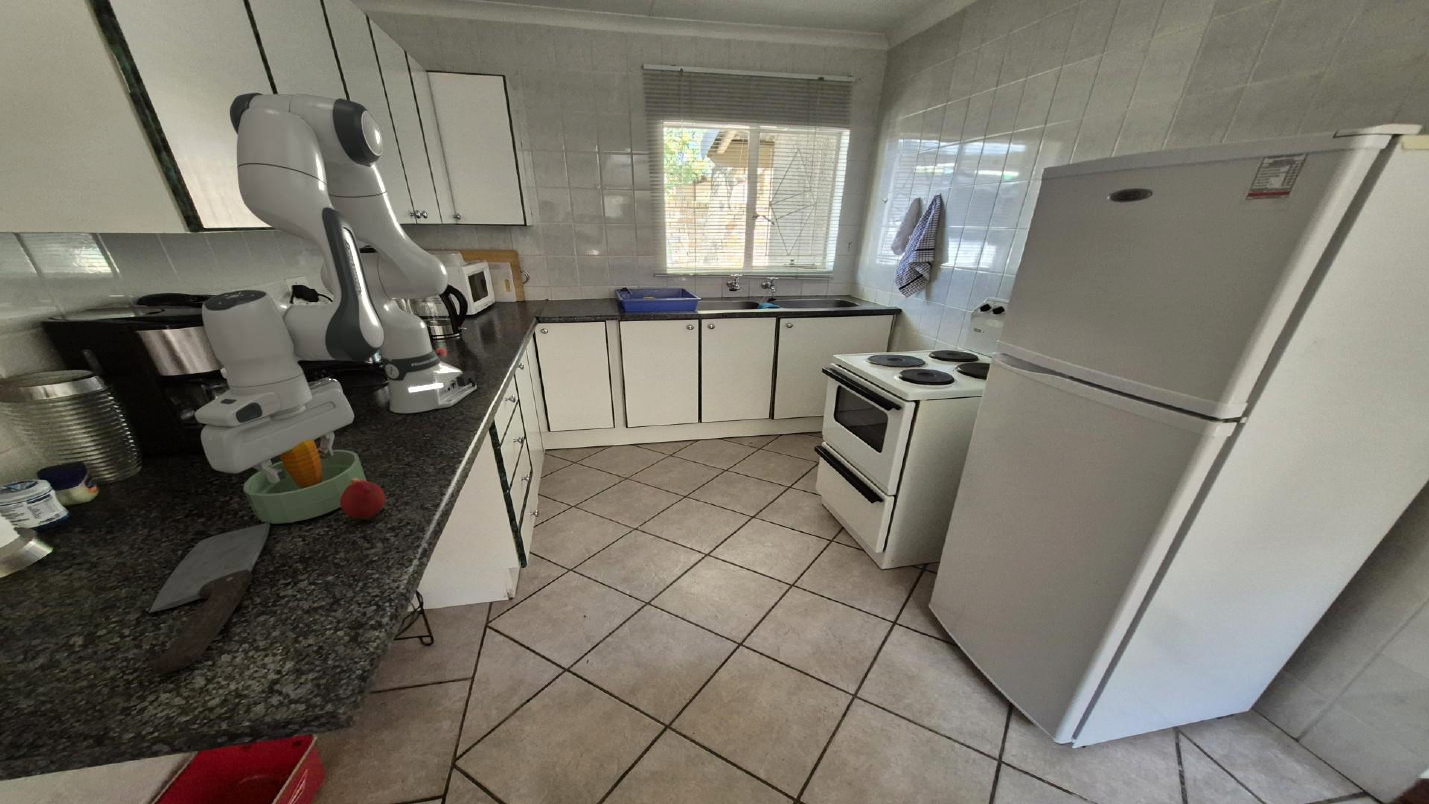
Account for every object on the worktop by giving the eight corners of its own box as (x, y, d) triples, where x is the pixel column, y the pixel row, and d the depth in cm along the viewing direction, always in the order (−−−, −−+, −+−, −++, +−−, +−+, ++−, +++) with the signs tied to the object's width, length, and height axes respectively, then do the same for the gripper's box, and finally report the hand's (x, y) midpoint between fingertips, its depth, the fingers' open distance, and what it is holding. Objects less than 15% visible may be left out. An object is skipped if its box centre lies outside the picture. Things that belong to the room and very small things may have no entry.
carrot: (312, 506, 77) (281, 427, 72) (289, 502, 78) (257, 425, 72) (340, 490, 82) (313, 415, 76) (318, 487, 83) (289, 413, 77)
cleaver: (224, 657, 51) (217, 644, 50) (93, 705, 46) (82, 691, 45) (276, 524, 74) (271, 513, 73) (191, 546, 69) (185, 535, 68)
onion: (386, 504, 79) (373, 465, 76) (393, 518, 75) (380, 478, 72) (345, 518, 75) (330, 477, 72) (350, 534, 71) (335, 492, 68)
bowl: (323, 472, 88) (313, 446, 86) (388, 481, 86) (379, 454, 83) (233, 519, 75) (218, 489, 72) (306, 532, 72) (293, 501, 70)
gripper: (322, 373, 82) (345, 439, 88) (179, 417, 64) (219, 498, 69) (350, 375, 81) (372, 442, 86) (213, 421, 63) (251, 504, 68)
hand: (303, 468), depth 78 cm, fingers open, 7 cm apart
